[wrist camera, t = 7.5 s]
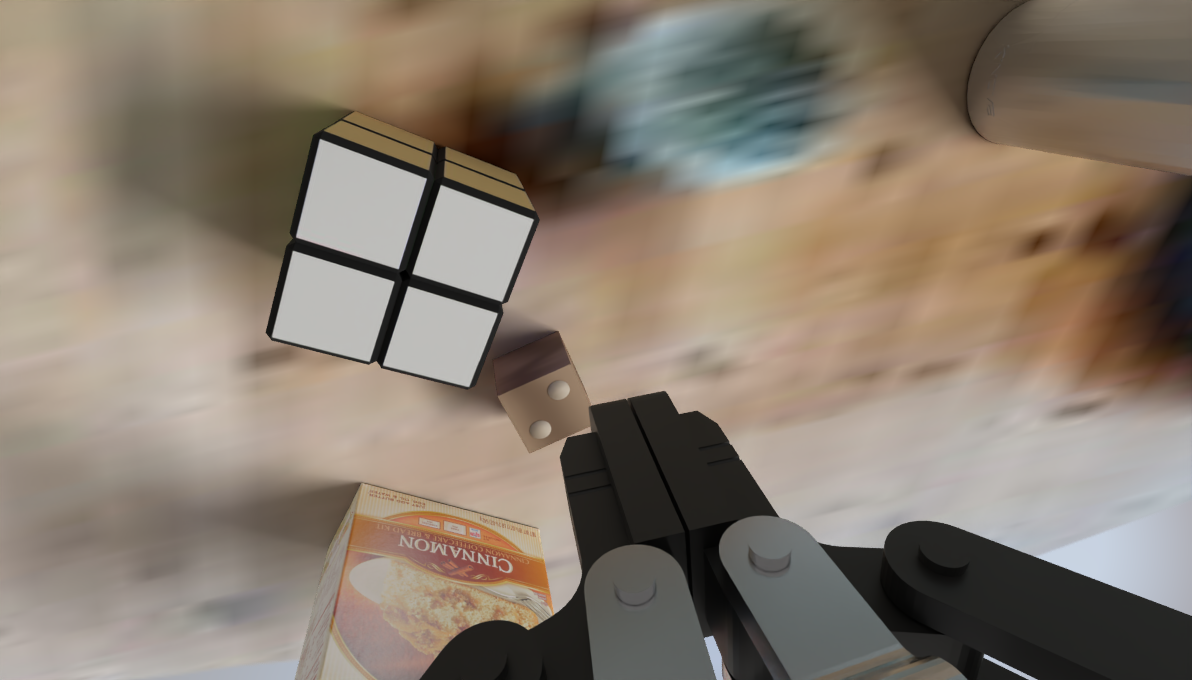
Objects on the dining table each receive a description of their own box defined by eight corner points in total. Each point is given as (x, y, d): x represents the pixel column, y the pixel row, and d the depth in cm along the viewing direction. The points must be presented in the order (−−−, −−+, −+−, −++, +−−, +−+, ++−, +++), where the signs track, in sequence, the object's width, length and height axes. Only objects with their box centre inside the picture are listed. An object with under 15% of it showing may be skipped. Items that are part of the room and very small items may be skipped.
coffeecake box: (541, 527, 48) (590, 786, 31) (503, 587, 50) (530, 862, 33) (360, 477, 42) (298, 763, 25) (325, 548, 44) (246, 857, 27)
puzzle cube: (468, 318, 39) (473, 394, 30) (308, 271, 35) (261, 342, 27) (520, 175, 36) (543, 214, 27) (350, 107, 32) (312, 127, 23)
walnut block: (558, 330, 41) (571, 364, 36) (583, 385, 43) (598, 423, 39) (492, 359, 41) (497, 396, 36) (521, 412, 43) (529, 453, 39)
